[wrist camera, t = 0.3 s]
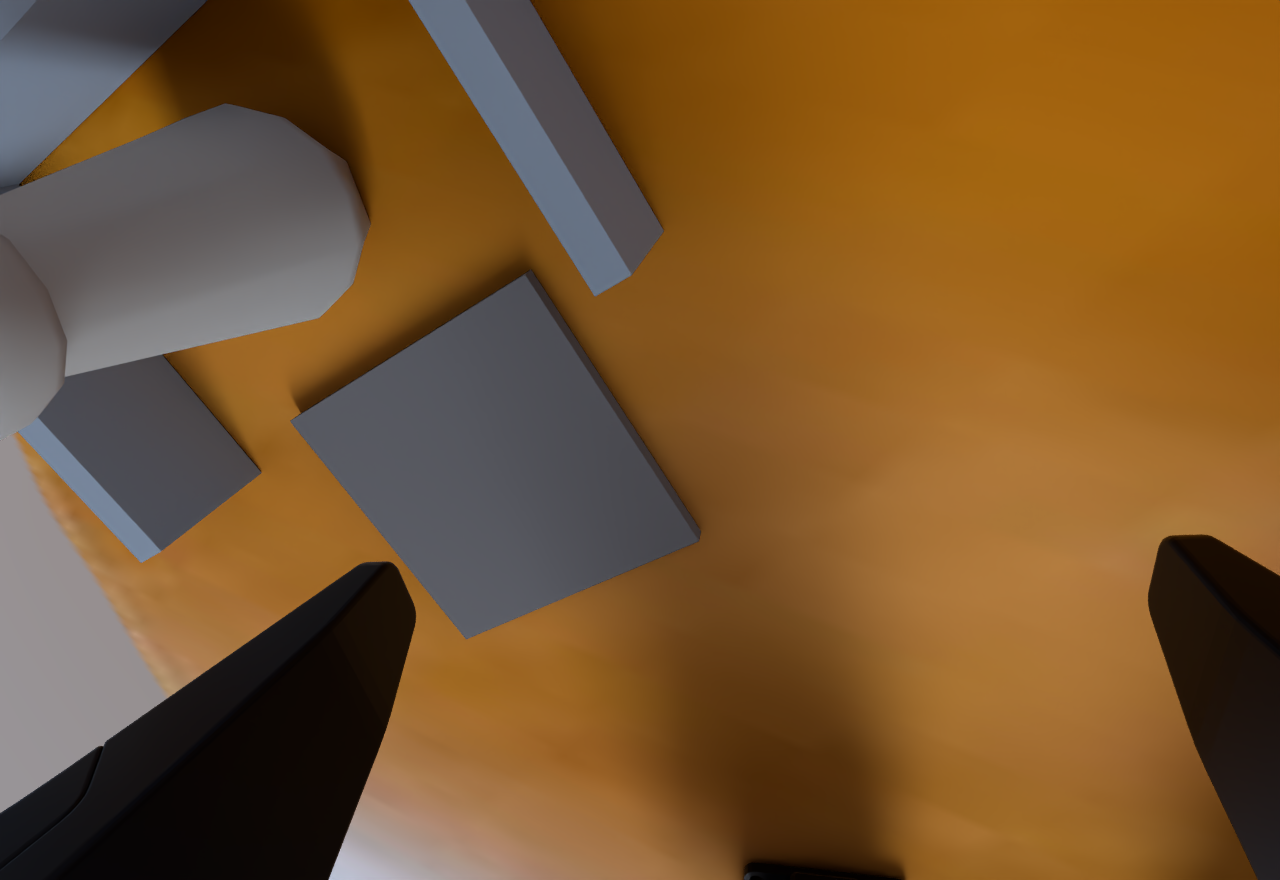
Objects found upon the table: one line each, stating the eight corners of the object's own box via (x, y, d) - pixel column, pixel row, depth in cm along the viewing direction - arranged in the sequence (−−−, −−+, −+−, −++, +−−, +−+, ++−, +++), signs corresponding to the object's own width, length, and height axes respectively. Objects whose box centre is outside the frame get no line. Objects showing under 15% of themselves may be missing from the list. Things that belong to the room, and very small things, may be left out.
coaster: (701, 531, 26) (698, 541, 25) (471, 628, 29) (466, 639, 29) (530, 269, 23) (525, 274, 22) (300, 414, 26) (289, 421, 26)
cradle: (664, 230, 22) (631, 275, 17) (243, 483, 28) (141, 562, 24) (386, -246, 18) (255, -347, 13) (-23, 172, 24) (-203, 197, 20)
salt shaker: (230, 64, 22) (-408, 67, 10) (418, 155, 22) (2, 260, 10) (203, 254, 24) (-325, 427, 13) (370, 333, 24) (-2, 573, 13)
